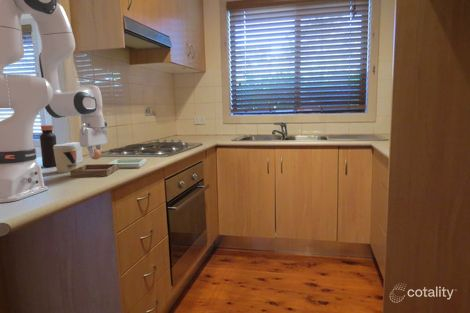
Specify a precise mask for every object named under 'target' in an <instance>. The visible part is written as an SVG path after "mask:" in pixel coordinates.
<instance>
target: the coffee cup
mask: <svg viewBox="0 0 470 313" xmlns="http://www.w3.org/2000/svg"><path fill="white" fill-rule="evenodd" d="M56 144H57V143H56ZM53 149H54V155H55V161H56V167H55V168H56V171H57V173H60V174H66V173H70V171H71V170H74V169H76V168H77V163H76V144H65V143H58V144H57V145H54V147H53Z"/></svg>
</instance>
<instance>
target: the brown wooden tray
mask: <svg viewBox="0 0 470 313" xmlns="http://www.w3.org/2000/svg"><path fill="white" fill-rule="evenodd" d="M118 170H119V167H118V164H108V163H106V164H105V163H100V164H98V163H97V164H96V163H95V164H90V163H89V164H84V165H81V166H79V167H76V169H74V170H71V171H70V172H69V173H70V177H71V178H86V177H87V178H88V177H92V178H93V177H108V176H111V175H112V174H113V173H115V172H117V171H118Z"/></svg>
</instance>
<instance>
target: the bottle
mask: <svg viewBox="0 0 470 313" xmlns="http://www.w3.org/2000/svg"><path fill="white" fill-rule="evenodd" d="M40 128H41V129H40V130H41V134H40V135H39V142H40V151H41V162H42V163H41V164H42V167H43V168H57V167H56V161H55V155H54V149H53V147H54V145H57V136H56V134H55V133H54V132H53V130H54V127H53V125H48V124H47V125H46V124H45V125H41V126H40Z"/></svg>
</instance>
